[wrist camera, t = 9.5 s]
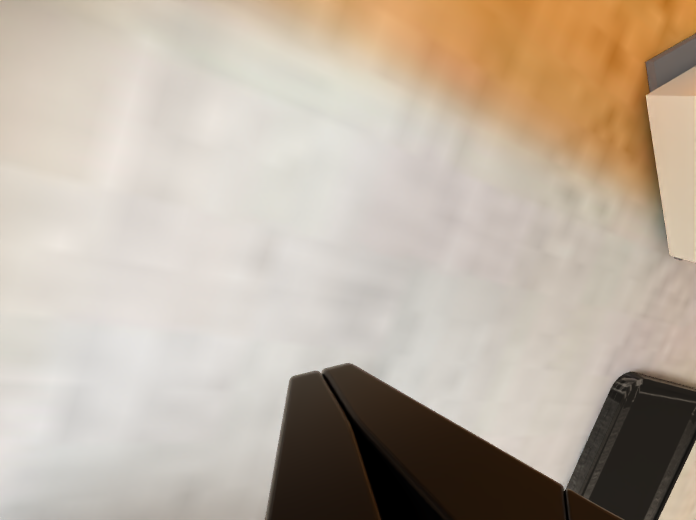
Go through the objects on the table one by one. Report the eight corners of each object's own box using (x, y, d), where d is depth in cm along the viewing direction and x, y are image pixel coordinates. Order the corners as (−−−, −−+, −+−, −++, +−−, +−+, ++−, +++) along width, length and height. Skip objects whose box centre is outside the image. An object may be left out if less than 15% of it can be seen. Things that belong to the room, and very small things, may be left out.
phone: (716, 397, 32) (608, 624, 34) (697, 387, 33) (593, 609, 35) (631, 374, 28) (515, 631, 30) (613, 365, 29) (501, 614, 31)
